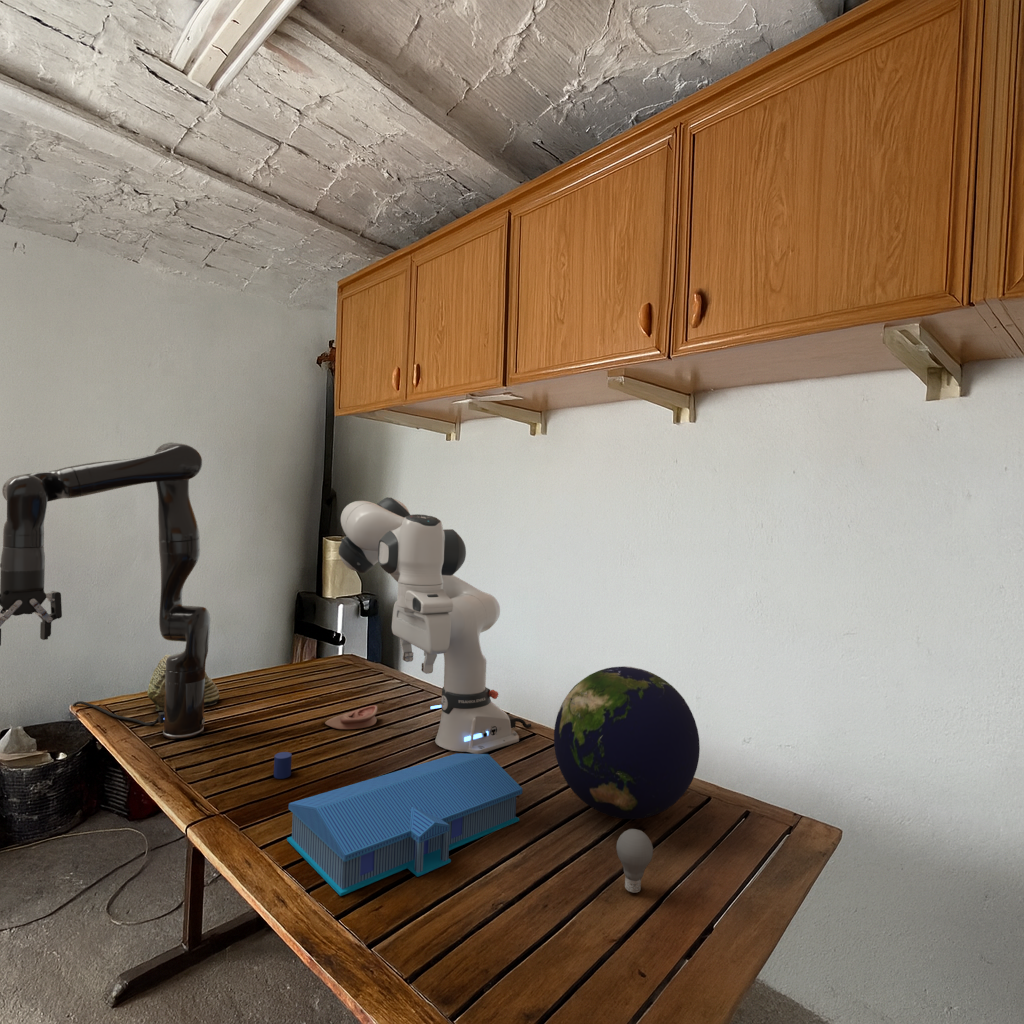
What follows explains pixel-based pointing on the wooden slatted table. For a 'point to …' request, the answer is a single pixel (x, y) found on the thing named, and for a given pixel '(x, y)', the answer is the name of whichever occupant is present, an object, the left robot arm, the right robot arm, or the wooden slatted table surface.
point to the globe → (626, 742)
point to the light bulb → (634, 857)
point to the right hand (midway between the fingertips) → (417, 666)
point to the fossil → (158, 687)
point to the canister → (282, 765)
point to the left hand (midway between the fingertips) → (21, 642)
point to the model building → (402, 819)
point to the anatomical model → (354, 719)
